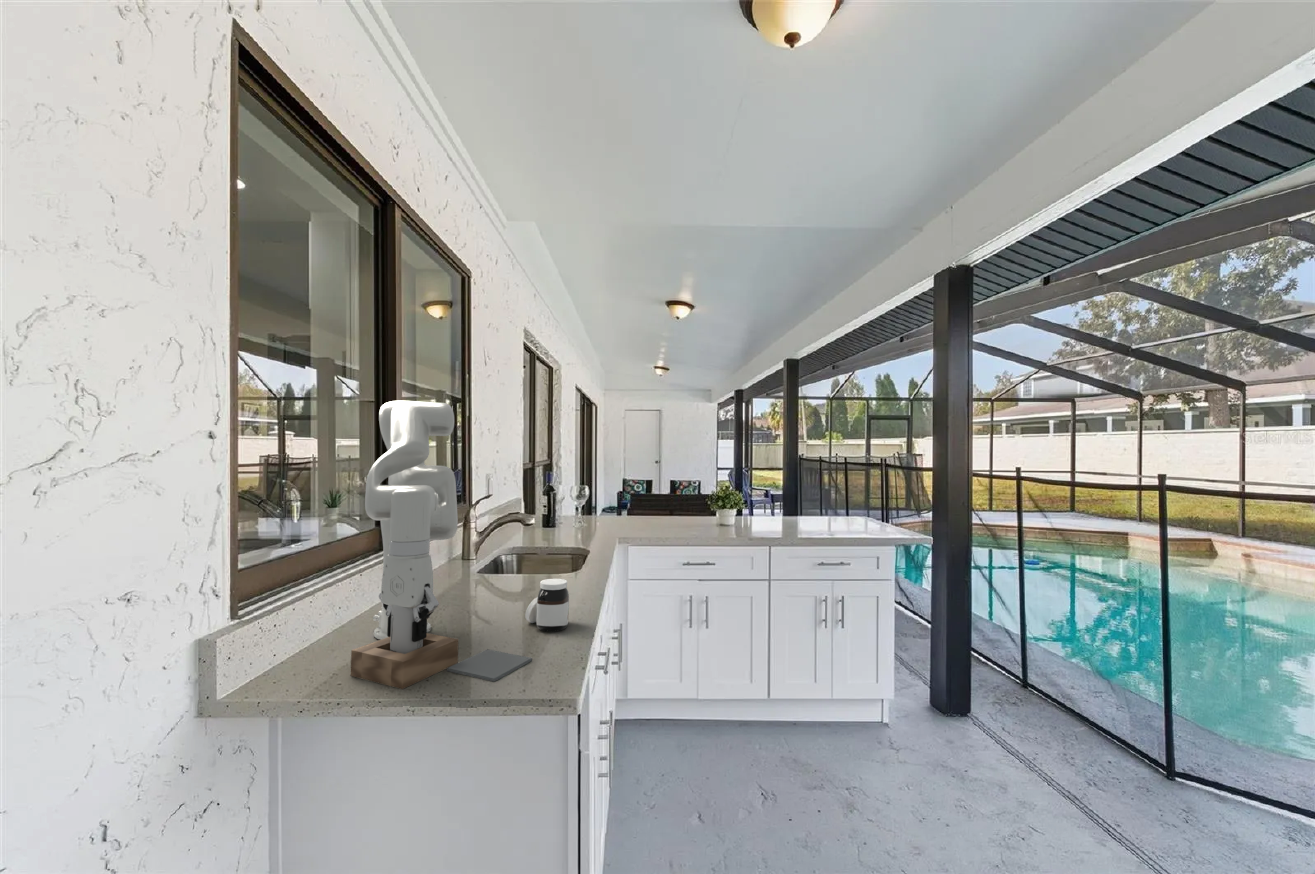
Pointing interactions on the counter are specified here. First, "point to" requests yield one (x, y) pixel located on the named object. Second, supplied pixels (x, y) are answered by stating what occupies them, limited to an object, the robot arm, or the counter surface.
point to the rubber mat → (489, 665)
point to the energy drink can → (403, 630)
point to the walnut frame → (403, 661)
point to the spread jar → (550, 606)
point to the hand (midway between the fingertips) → (406, 636)
